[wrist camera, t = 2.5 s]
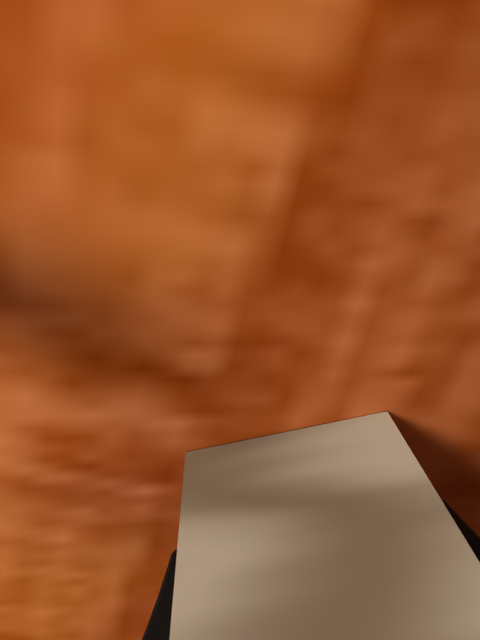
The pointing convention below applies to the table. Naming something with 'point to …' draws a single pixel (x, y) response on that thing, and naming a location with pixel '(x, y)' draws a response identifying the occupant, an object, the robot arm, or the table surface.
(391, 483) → the maple cube
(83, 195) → the table surface
